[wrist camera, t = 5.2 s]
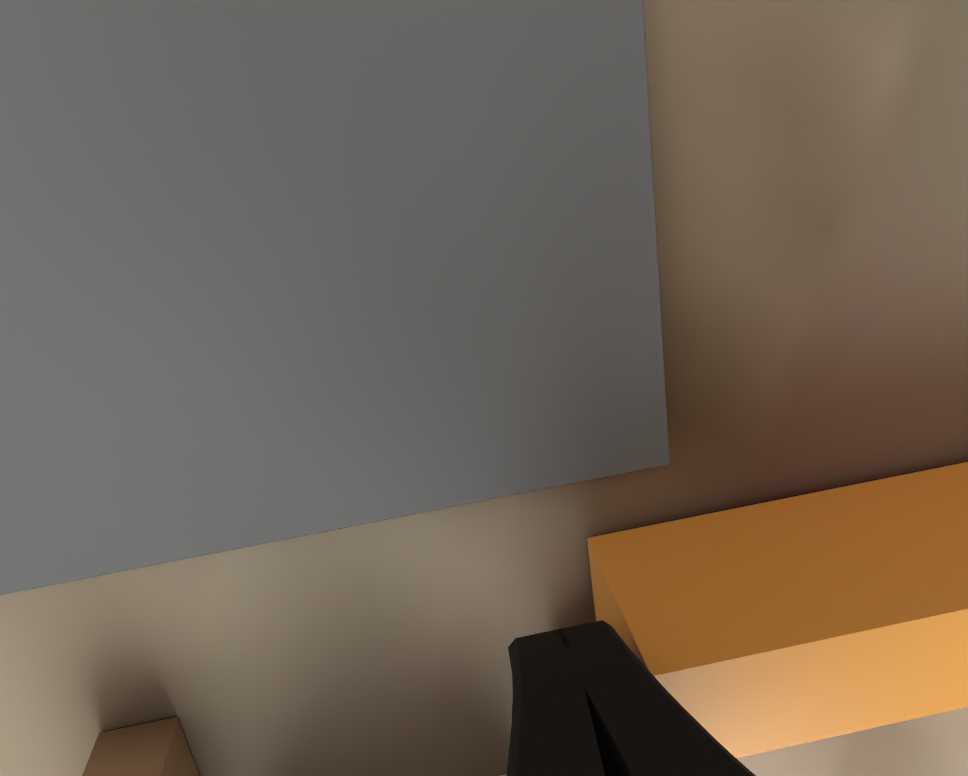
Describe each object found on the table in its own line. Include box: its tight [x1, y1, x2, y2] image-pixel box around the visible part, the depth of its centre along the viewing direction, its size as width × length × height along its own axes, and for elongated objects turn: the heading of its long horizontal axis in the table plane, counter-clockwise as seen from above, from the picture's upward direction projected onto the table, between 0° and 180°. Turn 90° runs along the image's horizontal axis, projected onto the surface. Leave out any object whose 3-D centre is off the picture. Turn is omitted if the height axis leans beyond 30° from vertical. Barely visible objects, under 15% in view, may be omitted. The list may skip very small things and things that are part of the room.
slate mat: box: [0, 0, 670, 595], centre depth 10 cm, size 10×10×1 cm
